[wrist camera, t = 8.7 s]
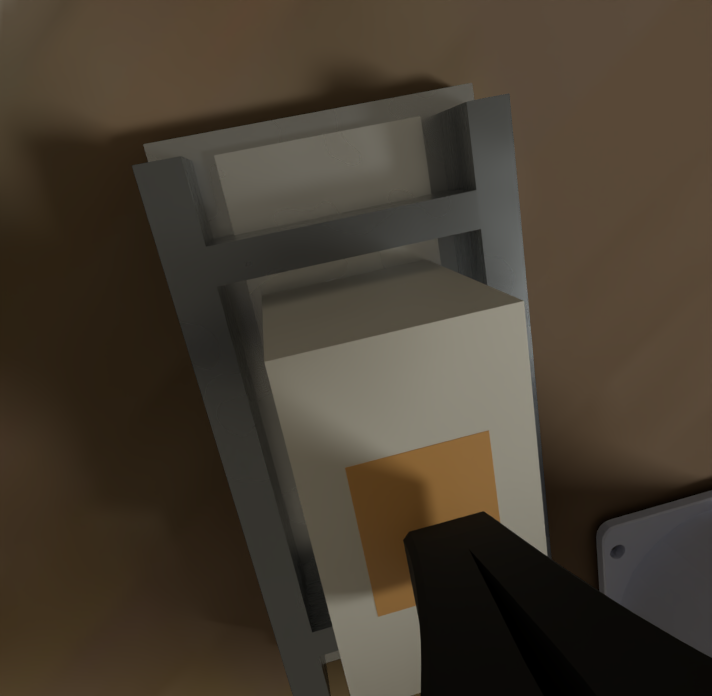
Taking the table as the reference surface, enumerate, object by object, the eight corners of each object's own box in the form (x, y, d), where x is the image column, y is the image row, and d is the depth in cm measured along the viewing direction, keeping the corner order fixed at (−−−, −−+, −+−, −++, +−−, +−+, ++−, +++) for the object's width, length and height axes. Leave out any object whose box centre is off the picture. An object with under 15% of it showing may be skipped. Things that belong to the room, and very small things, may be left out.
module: (462, 505, 15) (556, 650, 10) (323, 543, 15) (354, 713, 10) (426, 259, 13) (524, 301, 8) (261, 296, 12) (264, 361, 8)
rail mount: (517, 584, 18) (559, 648, 15) (296, 649, 17) (302, 728, 14) (459, 88, 13) (506, 66, 11) (149, 146, 12) (123, 136, 10)
